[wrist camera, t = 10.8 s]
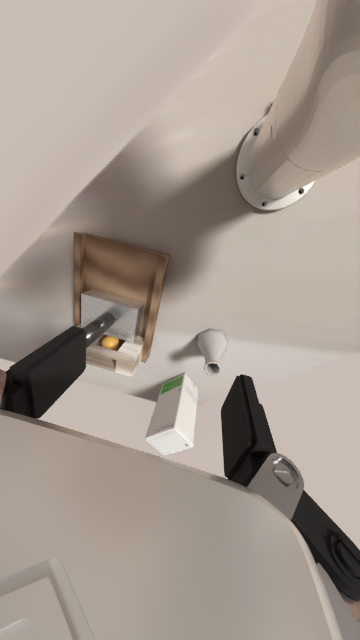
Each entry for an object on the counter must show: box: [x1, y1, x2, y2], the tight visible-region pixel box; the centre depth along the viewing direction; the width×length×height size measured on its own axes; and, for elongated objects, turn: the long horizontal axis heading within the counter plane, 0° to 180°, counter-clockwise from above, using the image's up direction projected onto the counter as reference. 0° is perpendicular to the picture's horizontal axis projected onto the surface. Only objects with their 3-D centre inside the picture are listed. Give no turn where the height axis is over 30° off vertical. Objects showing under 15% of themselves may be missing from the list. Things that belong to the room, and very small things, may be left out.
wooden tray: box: [74, 232, 170, 377], centre depth 39 cm, size 25×18×10 cm
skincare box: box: [145, 373, 198, 455], centre depth 44 cm, size 8×7×16 cm
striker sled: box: [81, 289, 145, 348], centre depth 37 cm, size 8×12×13 cm, turn 77°
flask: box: [197, 329, 228, 376], centre depth 40 cm, size 7×7×10 cm
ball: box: [102, 336, 120, 350], centre depth 45 cm, size 4×4×4 cm
